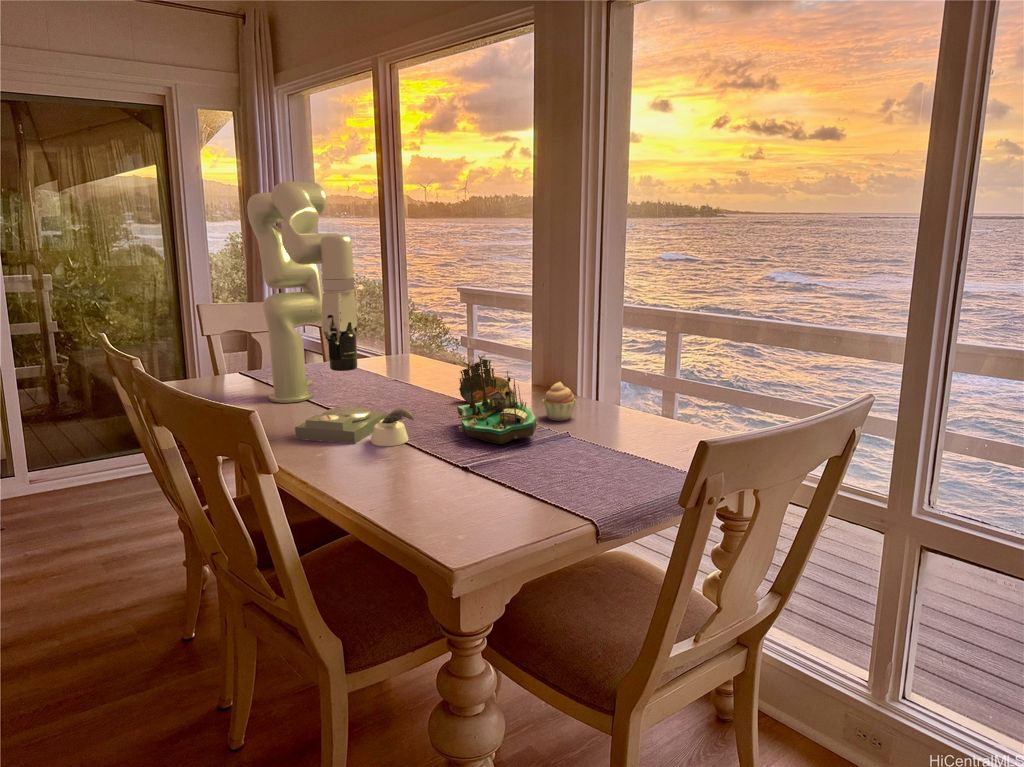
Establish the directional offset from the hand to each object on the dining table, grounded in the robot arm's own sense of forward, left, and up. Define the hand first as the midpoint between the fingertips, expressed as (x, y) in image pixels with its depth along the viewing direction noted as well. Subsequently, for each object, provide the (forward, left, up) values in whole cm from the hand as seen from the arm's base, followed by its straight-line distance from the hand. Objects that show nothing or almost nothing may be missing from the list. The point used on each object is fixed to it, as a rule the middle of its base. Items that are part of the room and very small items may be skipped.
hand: (343, 356), depth 182 cm
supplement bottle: (0, 0, -3) cm, 3 cm away
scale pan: (0, 0, -16) cm, 16 cm away
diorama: (-4, +38, -19) cm, 43 cm away
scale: (+3, 0, -19) cm, 19 cm away
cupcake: (-22, +51, -19) cm, 59 cm away
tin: (-32, +27, -19) cm, 46 cm away
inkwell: (+10, +19, -19) cm, 29 cm away
